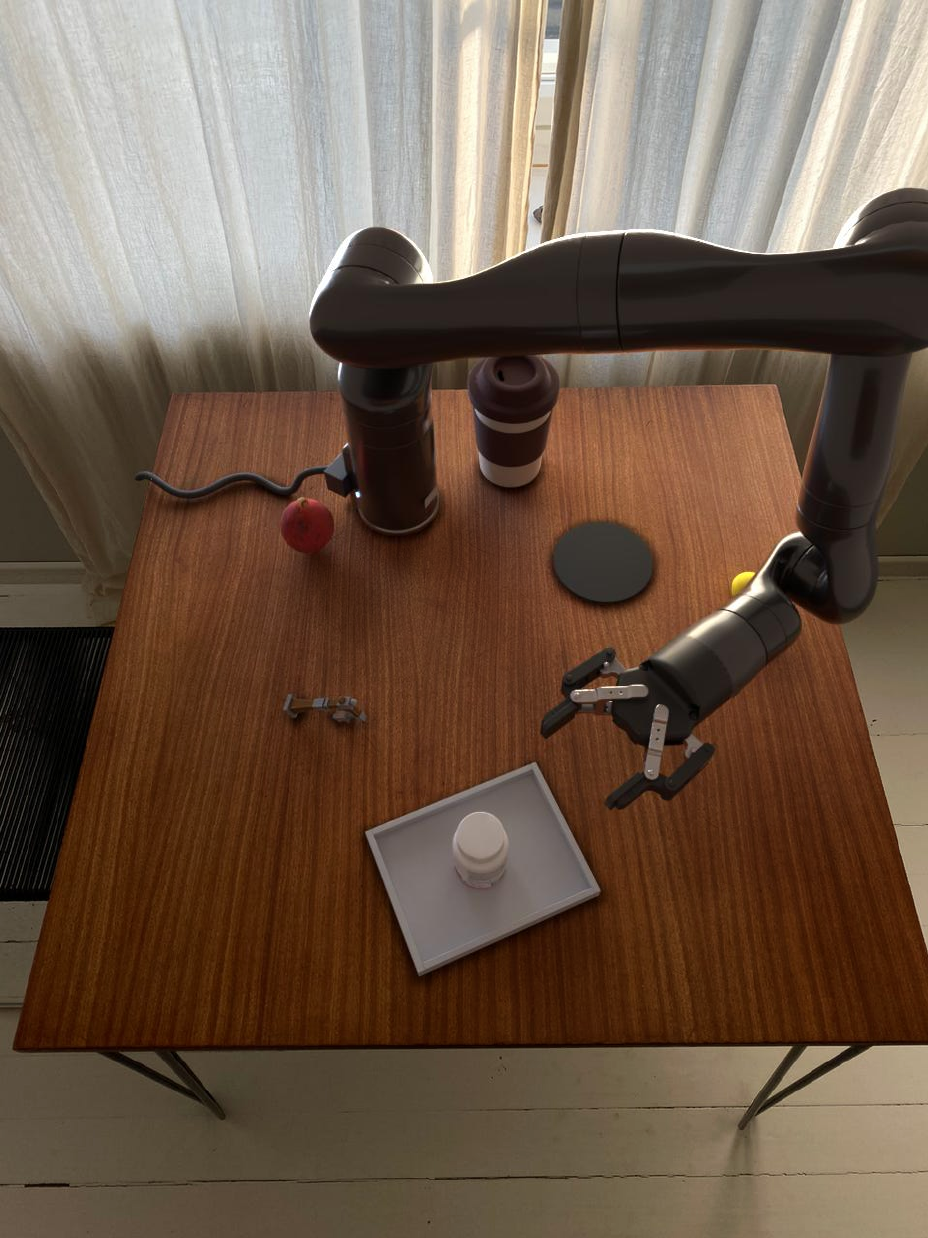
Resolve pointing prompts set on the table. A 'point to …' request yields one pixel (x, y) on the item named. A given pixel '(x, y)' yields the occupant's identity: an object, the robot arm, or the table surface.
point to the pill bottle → (480, 851)
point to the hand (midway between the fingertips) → (574, 768)
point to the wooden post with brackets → (326, 707)
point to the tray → (470, 918)
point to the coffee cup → (512, 415)
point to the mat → (603, 562)
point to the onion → (307, 525)
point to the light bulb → (741, 582)
